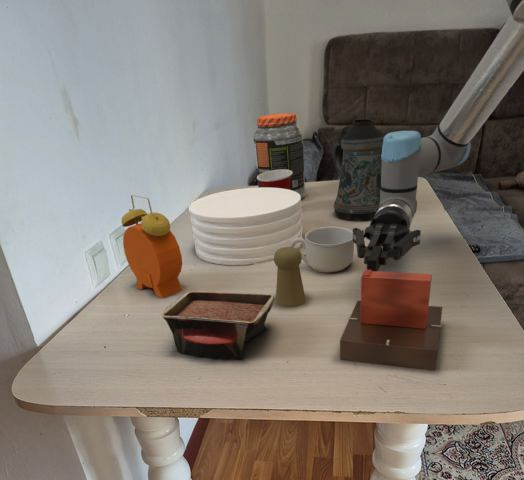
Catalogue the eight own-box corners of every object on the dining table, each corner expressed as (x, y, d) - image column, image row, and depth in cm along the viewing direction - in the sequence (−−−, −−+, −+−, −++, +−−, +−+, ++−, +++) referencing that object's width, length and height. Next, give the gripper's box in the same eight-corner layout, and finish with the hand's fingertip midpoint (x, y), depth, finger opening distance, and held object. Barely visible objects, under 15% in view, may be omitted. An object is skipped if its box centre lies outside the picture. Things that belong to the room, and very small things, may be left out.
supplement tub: (308, 192, 169) (305, 110, 156) (301, 204, 156) (297, 116, 143) (264, 193, 173) (258, 114, 160) (254, 205, 160) (246, 120, 147)
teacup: (355, 259, 111) (356, 225, 107) (352, 278, 102) (352, 242, 98) (296, 259, 114) (294, 226, 110) (288, 278, 106) (285, 242, 101)
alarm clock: (189, 290, 104) (172, 196, 94) (165, 300, 101) (145, 204, 91) (154, 277, 113) (135, 189, 103) (131, 286, 109) (110, 196, 99)
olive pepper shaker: (278, 296, 98) (274, 243, 92) (307, 296, 97) (305, 243, 91) (272, 309, 93) (268, 255, 87) (303, 309, 92) (301, 254, 86)
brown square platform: (440, 327, 82) (443, 305, 79) (435, 374, 70) (438, 349, 68) (356, 320, 86) (356, 299, 84) (339, 362, 75) (339, 339, 73)
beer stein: (379, 225, 131) (383, 124, 118) (315, 220, 140) (312, 126, 127) (399, 209, 143) (405, 115, 130) (338, 204, 152) (338, 117, 139)
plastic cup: (252, 215, 150) (248, 175, 144) (277, 206, 156) (274, 168, 150) (277, 220, 143) (274, 178, 137) (302, 211, 149) (300, 171, 143)
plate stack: (175, 260, 121) (166, 214, 116) (228, 226, 143) (223, 186, 137) (276, 269, 110) (272, 220, 104) (318, 231, 131) (316, 188, 125)
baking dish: (206, 326, 93) (189, 280, 88) (291, 324, 86) (277, 273, 80) (168, 371, 83) (146, 322, 78) (261, 373, 75) (243, 318, 70)
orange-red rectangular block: (427, 321, 76) (432, 272, 71) (426, 329, 74) (431, 279, 69) (363, 316, 79) (364, 268, 75) (360, 323, 77) (361, 275, 73)
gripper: (423, 243, 97) (410, 291, 79) (358, 240, 102) (332, 286, 83) (426, 205, 94) (414, 247, 75) (359, 205, 98) (332, 244, 79)
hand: (371, 268), depth 79 cm, fingers closed
